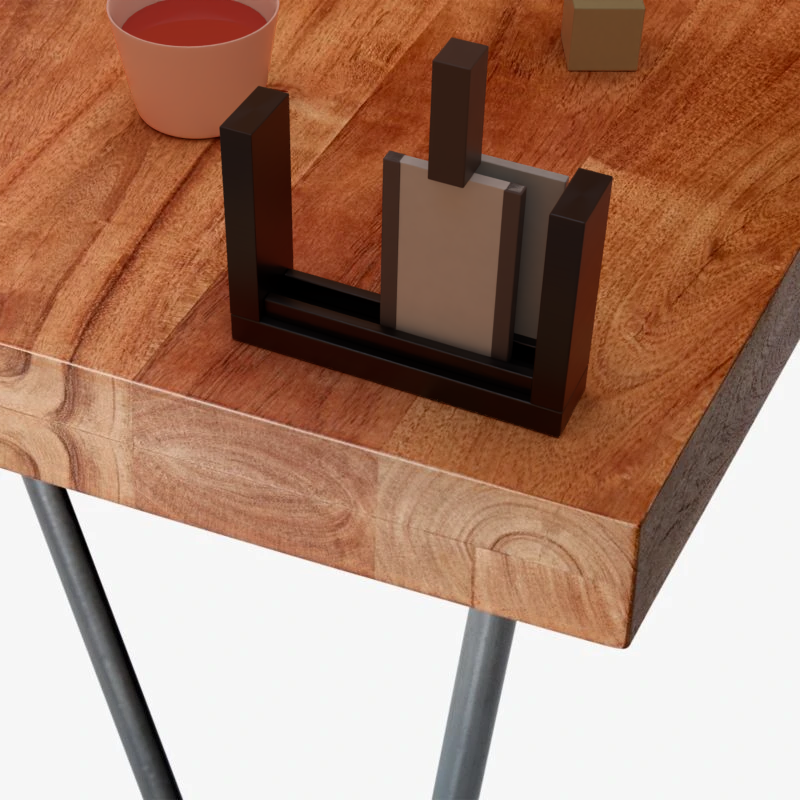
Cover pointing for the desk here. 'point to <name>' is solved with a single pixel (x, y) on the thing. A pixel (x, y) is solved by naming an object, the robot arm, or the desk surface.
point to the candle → (193, 58)
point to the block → (602, 34)
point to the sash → (452, 222)
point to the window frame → (360, 309)
